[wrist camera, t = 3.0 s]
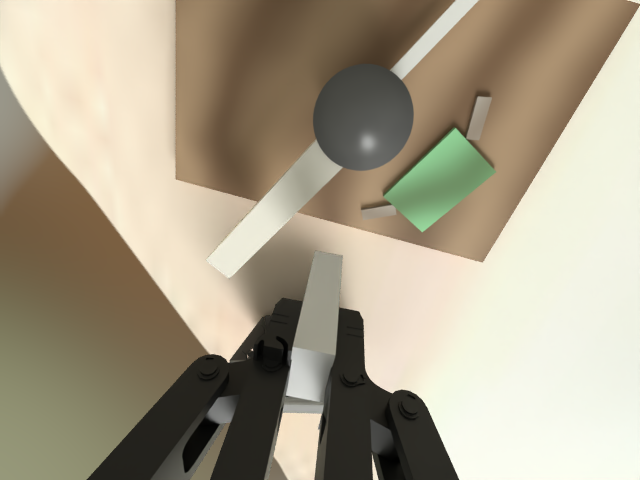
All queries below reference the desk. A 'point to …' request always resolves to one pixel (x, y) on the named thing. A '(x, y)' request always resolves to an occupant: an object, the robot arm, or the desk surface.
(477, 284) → the desk surface
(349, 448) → the robot arm
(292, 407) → the electrical switch
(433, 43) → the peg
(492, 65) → the board
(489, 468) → the desk surface
